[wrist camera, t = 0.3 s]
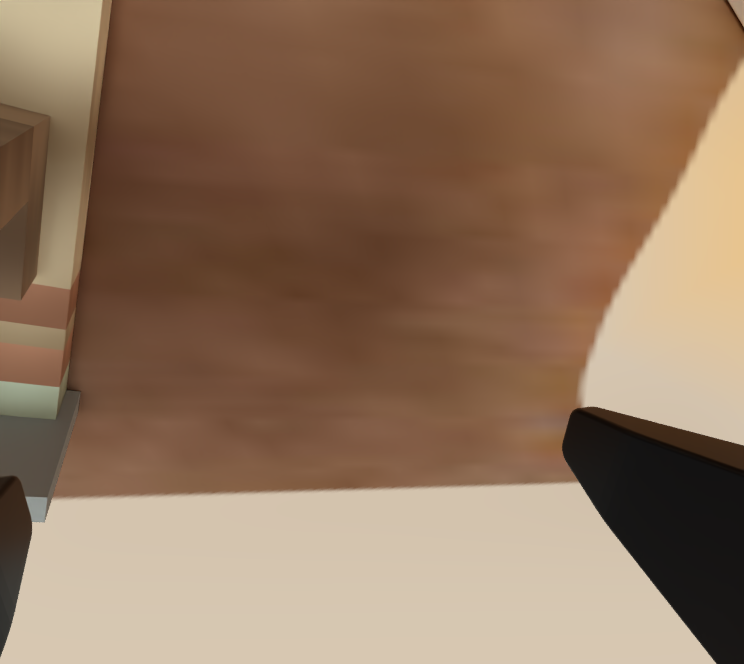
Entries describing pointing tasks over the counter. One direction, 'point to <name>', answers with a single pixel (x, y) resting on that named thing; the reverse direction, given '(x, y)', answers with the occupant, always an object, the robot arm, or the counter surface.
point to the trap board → (51, 186)
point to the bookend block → (21, 196)
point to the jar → (738, 9)
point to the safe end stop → (37, 452)
